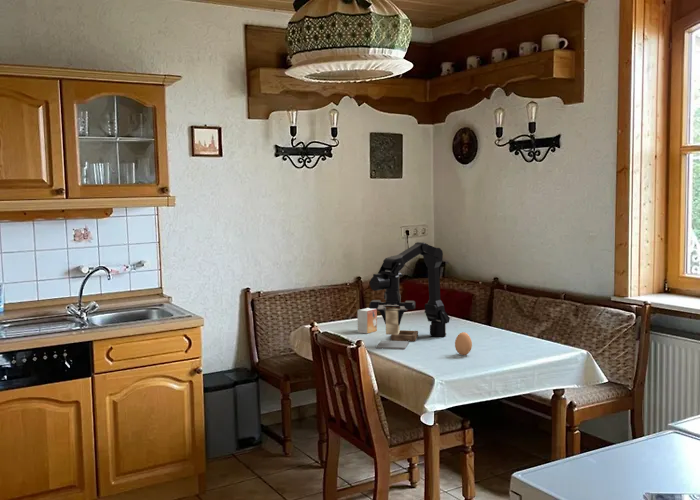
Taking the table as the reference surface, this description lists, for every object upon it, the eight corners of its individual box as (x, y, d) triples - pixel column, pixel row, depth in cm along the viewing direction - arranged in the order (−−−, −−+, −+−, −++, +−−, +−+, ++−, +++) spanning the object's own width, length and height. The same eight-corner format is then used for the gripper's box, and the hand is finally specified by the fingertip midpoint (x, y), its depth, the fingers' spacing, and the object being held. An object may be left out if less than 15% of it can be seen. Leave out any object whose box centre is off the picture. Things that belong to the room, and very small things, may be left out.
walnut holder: (418, 336, 318) (418, 330, 318) (415, 341, 308) (415, 335, 308) (394, 335, 321) (394, 330, 320) (391, 340, 310) (391, 334, 310)
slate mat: (408, 343, 305) (408, 341, 305) (405, 349, 293) (405, 347, 293) (381, 342, 307) (381, 340, 307) (376, 348, 296) (376, 346, 296)
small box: (367, 334, 325) (367, 311, 324) (357, 332, 329) (357, 309, 328) (377, 331, 332) (377, 308, 331) (367, 329, 335) (367, 307, 334)
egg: (451, 355, 282) (451, 332, 282) (461, 352, 287) (461, 329, 286) (465, 358, 278) (465, 334, 277) (475, 355, 282) (475, 332, 281)
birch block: (399, 332, 302) (399, 308, 301) (397, 334, 297) (397, 310, 296) (387, 331, 303) (387, 308, 302) (385, 334, 298) (385, 310, 297)
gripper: (417, 285, 304) (417, 322, 306) (373, 285, 308) (374, 320, 309) (413, 289, 293) (414, 327, 295) (368, 288, 297) (369, 326, 299)
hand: (392, 325), depth 300 cm, fingers closed on birch block, 5 cm apart
